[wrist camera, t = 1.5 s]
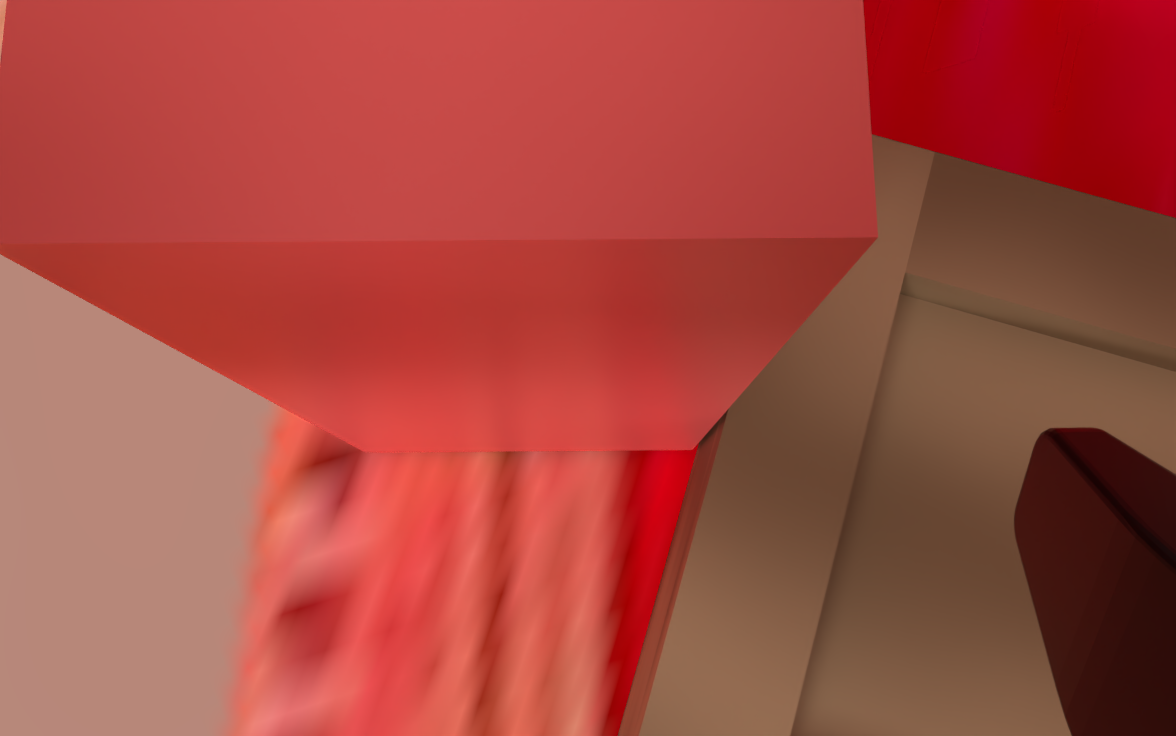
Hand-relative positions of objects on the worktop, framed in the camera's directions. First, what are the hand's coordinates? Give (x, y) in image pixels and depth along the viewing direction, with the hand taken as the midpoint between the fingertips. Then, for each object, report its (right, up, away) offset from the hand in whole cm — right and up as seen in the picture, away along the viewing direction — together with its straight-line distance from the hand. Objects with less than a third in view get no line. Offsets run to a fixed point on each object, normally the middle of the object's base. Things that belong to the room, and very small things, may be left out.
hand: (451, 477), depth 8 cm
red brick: (0, +2, +12) cm, 12 cm away
